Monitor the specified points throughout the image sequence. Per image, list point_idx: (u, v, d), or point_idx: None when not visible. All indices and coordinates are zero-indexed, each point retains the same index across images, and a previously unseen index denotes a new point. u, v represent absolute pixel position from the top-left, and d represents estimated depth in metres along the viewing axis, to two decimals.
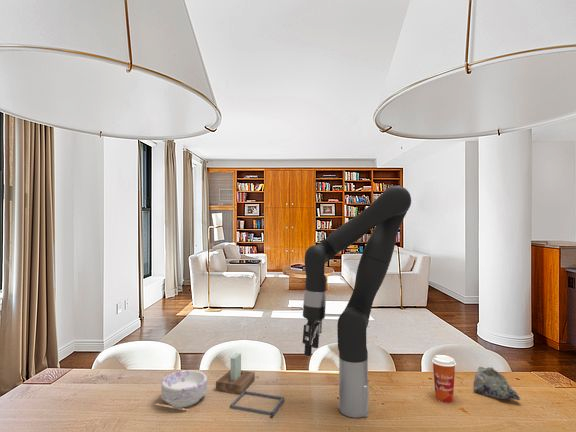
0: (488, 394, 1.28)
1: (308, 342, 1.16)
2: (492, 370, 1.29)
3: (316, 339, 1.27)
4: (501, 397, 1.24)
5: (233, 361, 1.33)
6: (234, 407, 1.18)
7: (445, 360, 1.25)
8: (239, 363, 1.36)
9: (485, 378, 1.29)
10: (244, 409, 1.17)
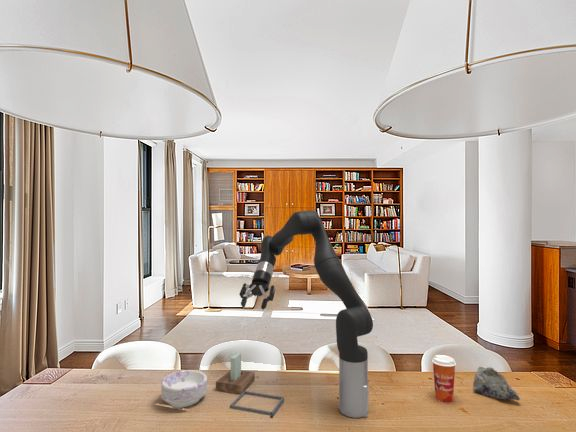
0: (488, 394, 1.28)
1: None
2: (492, 370, 1.29)
3: None
4: (501, 397, 1.24)
5: (233, 361, 1.33)
6: (234, 407, 1.18)
7: (445, 360, 1.25)
8: (239, 363, 1.36)
9: (485, 378, 1.29)
10: (244, 409, 1.17)
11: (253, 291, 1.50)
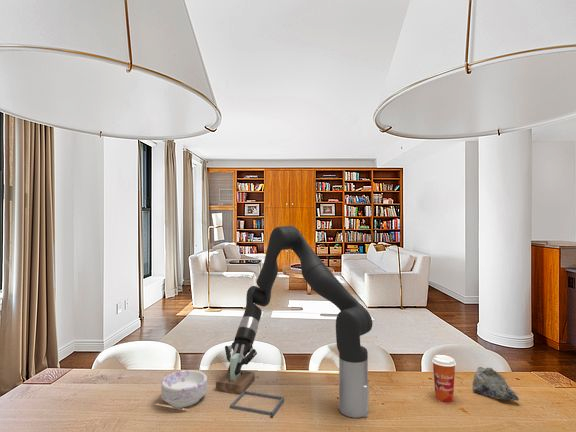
0: (487, 394, 1.28)
1: None
2: (491, 370, 1.29)
3: None
4: (500, 397, 1.24)
5: (232, 361, 1.33)
6: (234, 407, 1.18)
7: (445, 360, 1.25)
8: None
9: (485, 378, 1.29)
10: (244, 409, 1.17)
11: (238, 351, 1.38)
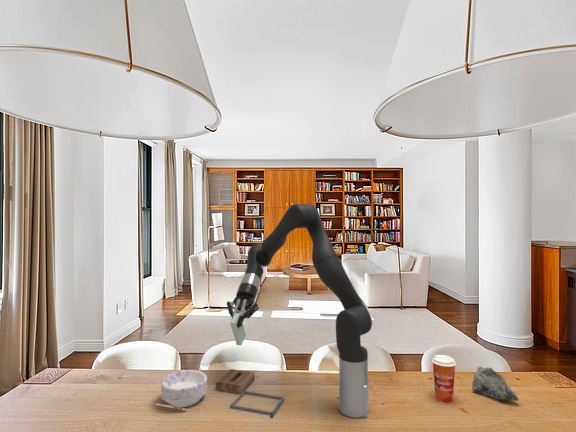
0: (487, 394, 1.28)
1: None
2: (491, 370, 1.29)
3: None
4: (499, 397, 1.24)
5: (233, 324, 1.31)
6: (234, 407, 1.18)
7: (445, 360, 1.25)
8: None
9: (484, 378, 1.29)
10: (244, 409, 1.17)
11: (240, 305, 1.38)
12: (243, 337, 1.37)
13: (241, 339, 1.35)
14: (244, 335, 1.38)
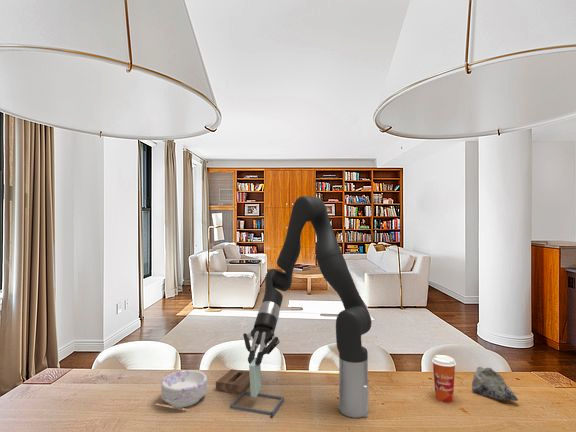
0: (486, 394, 1.28)
1: None
2: (490, 370, 1.29)
3: None
4: (499, 397, 1.24)
5: (252, 368, 1.18)
6: (234, 407, 1.18)
7: (445, 360, 1.25)
8: (259, 369, 1.21)
9: (484, 378, 1.29)
10: (244, 409, 1.17)
11: (259, 339, 1.24)
12: (259, 389, 1.21)
13: (256, 390, 1.20)
14: (260, 387, 1.22)
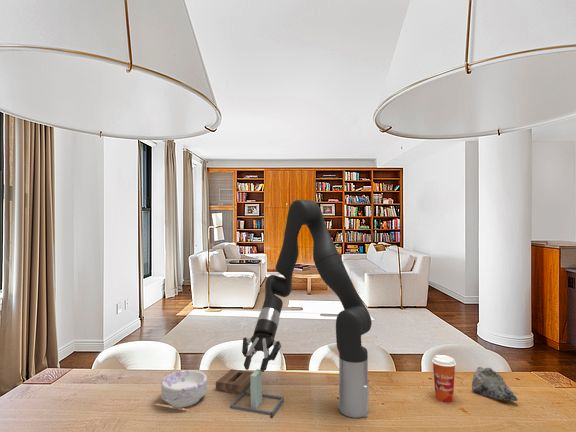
0: (486, 394, 1.28)
1: None
2: (490, 370, 1.29)
3: None
4: (498, 397, 1.24)
5: (253, 379, 1.18)
6: (234, 407, 1.18)
7: (445, 360, 1.25)
8: (260, 380, 1.22)
9: (484, 378, 1.29)
10: (244, 409, 1.17)
11: (257, 346, 1.24)
12: (259, 402, 1.21)
13: (257, 402, 1.19)
14: (260, 400, 1.22)
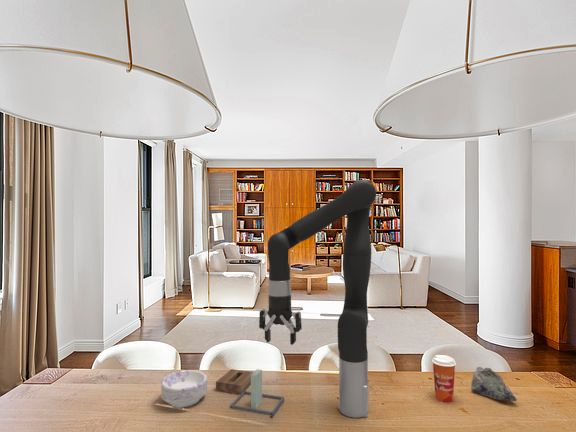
0: (485, 394, 1.28)
1: None
2: (490, 370, 1.28)
3: None
4: (497, 398, 1.24)
5: (254, 378, 1.19)
6: (234, 407, 1.18)
7: (445, 360, 1.25)
8: (260, 381, 1.22)
9: (483, 378, 1.29)
10: (244, 409, 1.17)
11: (275, 322, 1.20)
12: (259, 402, 1.21)
13: (257, 402, 1.20)
14: (260, 400, 1.22)
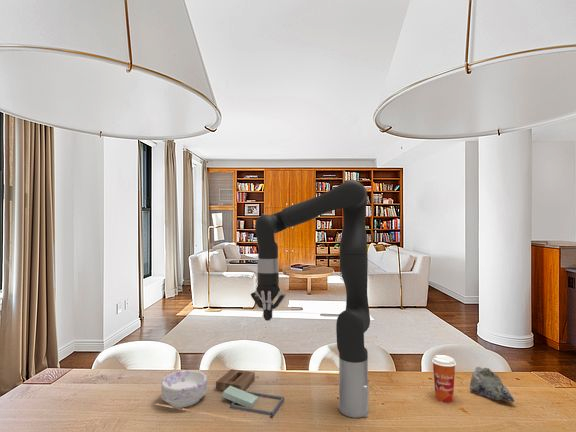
0: (483, 394, 1.28)
1: None
2: (488, 371, 1.28)
3: None
4: (495, 398, 1.24)
5: (225, 394, 1.22)
6: (234, 407, 1.18)
7: (445, 360, 1.25)
8: (236, 390, 1.25)
9: (481, 378, 1.29)
10: (244, 409, 1.17)
11: (267, 296, 1.28)
12: (253, 398, 1.22)
13: (248, 400, 1.21)
14: (254, 396, 1.23)
